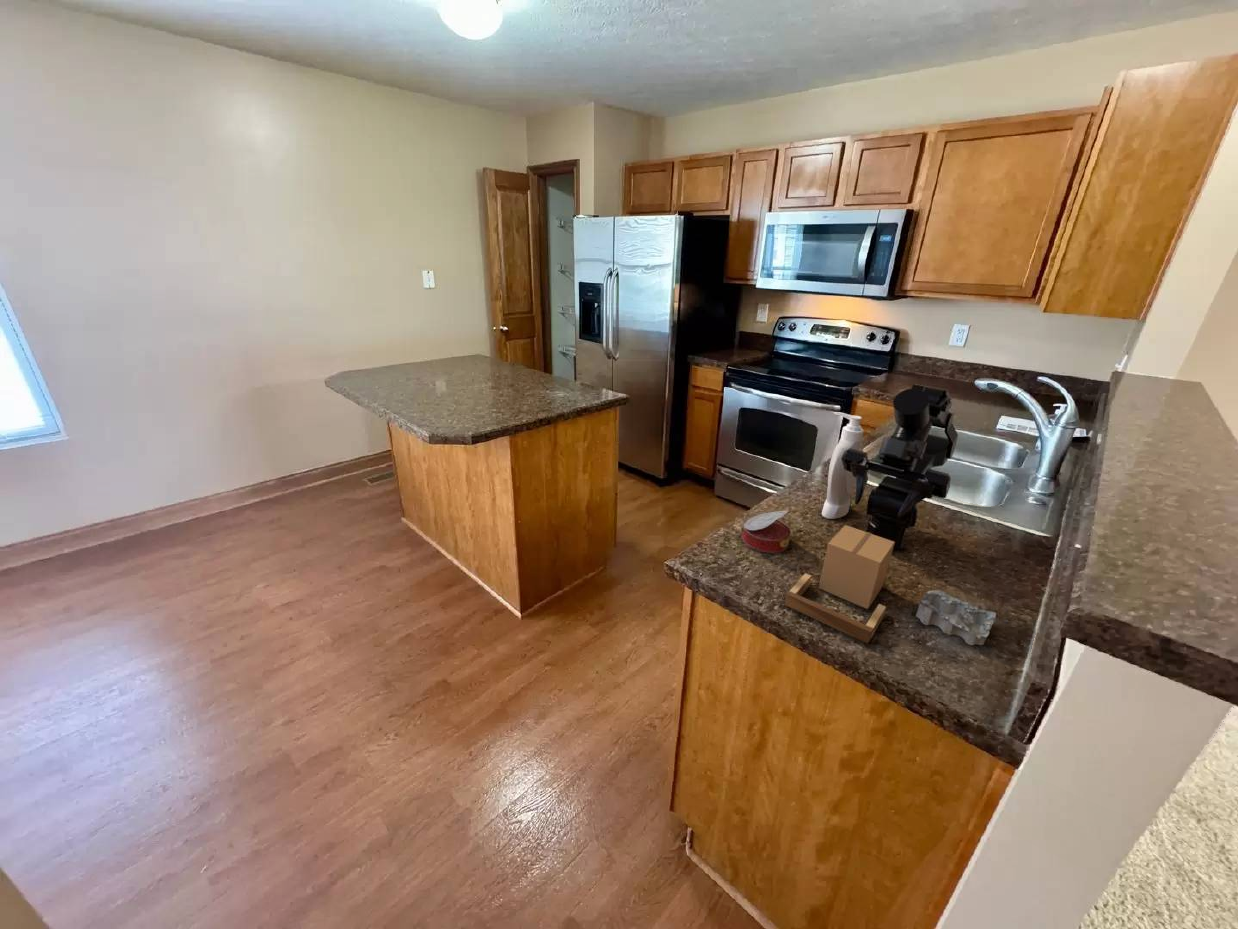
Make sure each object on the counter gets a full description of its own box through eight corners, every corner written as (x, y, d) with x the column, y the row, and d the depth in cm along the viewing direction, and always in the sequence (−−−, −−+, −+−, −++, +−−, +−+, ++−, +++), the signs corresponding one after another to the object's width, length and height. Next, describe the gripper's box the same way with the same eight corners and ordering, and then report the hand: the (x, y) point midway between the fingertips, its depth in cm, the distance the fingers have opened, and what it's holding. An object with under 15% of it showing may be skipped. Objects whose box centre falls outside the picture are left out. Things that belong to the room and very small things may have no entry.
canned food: (759, 570, 110) (746, 539, 104) (741, 541, 118) (727, 511, 113) (807, 546, 109) (796, 514, 104) (785, 519, 117) (774, 488, 112)
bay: (803, 583, 98) (805, 573, 97) (882, 618, 90) (886, 606, 89) (784, 605, 92) (786, 594, 91) (867, 644, 84) (871, 632, 83)
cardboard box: (835, 567, 103) (845, 524, 99) (882, 586, 98) (895, 541, 94) (818, 588, 97) (828, 543, 93) (867, 609, 92) (880, 562, 88)
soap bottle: (827, 496, 132) (846, 405, 123) (857, 507, 127) (879, 413, 117) (802, 512, 124) (820, 416, 114) (833, 524, 119) (855, 425, 109)
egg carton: (910, 619, 90) (916, 600, 88) (925, 600, 94) (931, 582, 93) (980, 652, 83) (988, 632, 81) (993, 630, 87) (1000, 611, 86)
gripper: (854, 409, 100) (822, 478, 97) (964, 433, 89) (932, 511, 86) (860, 437, 108) (830, 500, 105) (961, 461, 97) (931, 533, 94)
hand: (876, 510), depth 97 cm, fingers open, 7 cm apart
